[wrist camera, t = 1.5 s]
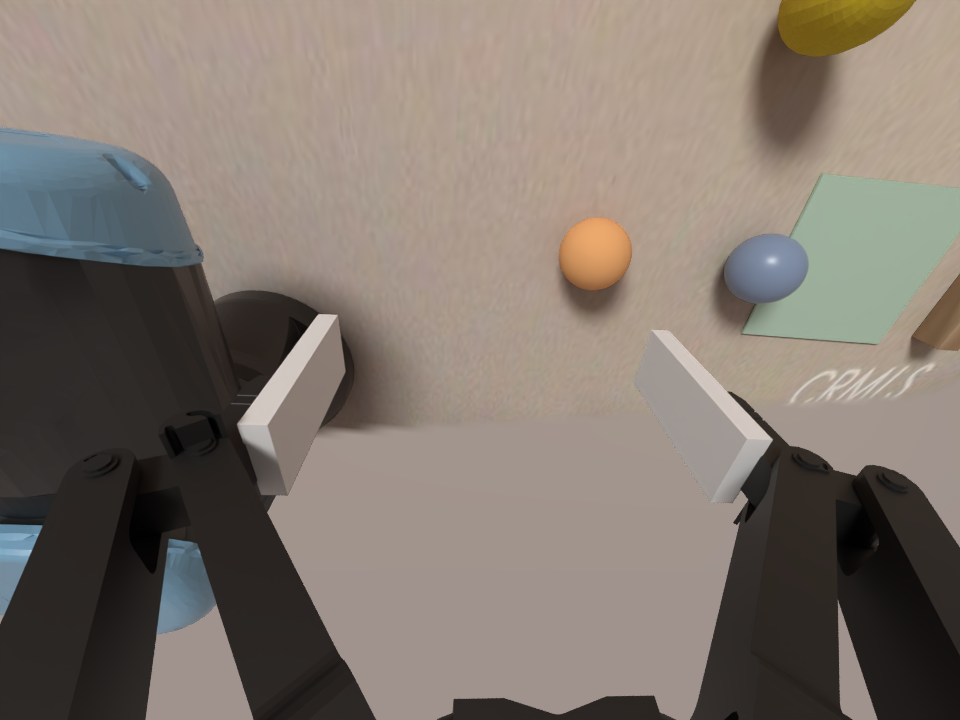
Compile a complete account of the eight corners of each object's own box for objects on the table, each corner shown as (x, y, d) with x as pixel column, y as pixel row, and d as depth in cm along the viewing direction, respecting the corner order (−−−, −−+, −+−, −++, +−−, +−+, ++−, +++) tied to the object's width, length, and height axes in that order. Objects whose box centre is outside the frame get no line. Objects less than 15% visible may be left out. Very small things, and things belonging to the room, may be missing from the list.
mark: (741, 332, 38) (742, 333, 37) (821, 173, 30) (823, 173, 30) (876, 343, 38) (878, 344, 38) (987, 190, 31) (990, 191, 31)
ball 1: (548, 273, 34) (559, 298, 29) (560, 207, 31) (575, 223, 27) (609, 278, 34) (630, 303, 30) (626, 214, 32) (653, 230, 27)
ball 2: (701, 286, 35) (736, 312, 30) (727, 223, 32) (770, 241, 27) (759, 291, 35) (802, 317, 31) (790, 229, 32) (843, 248, 28)
